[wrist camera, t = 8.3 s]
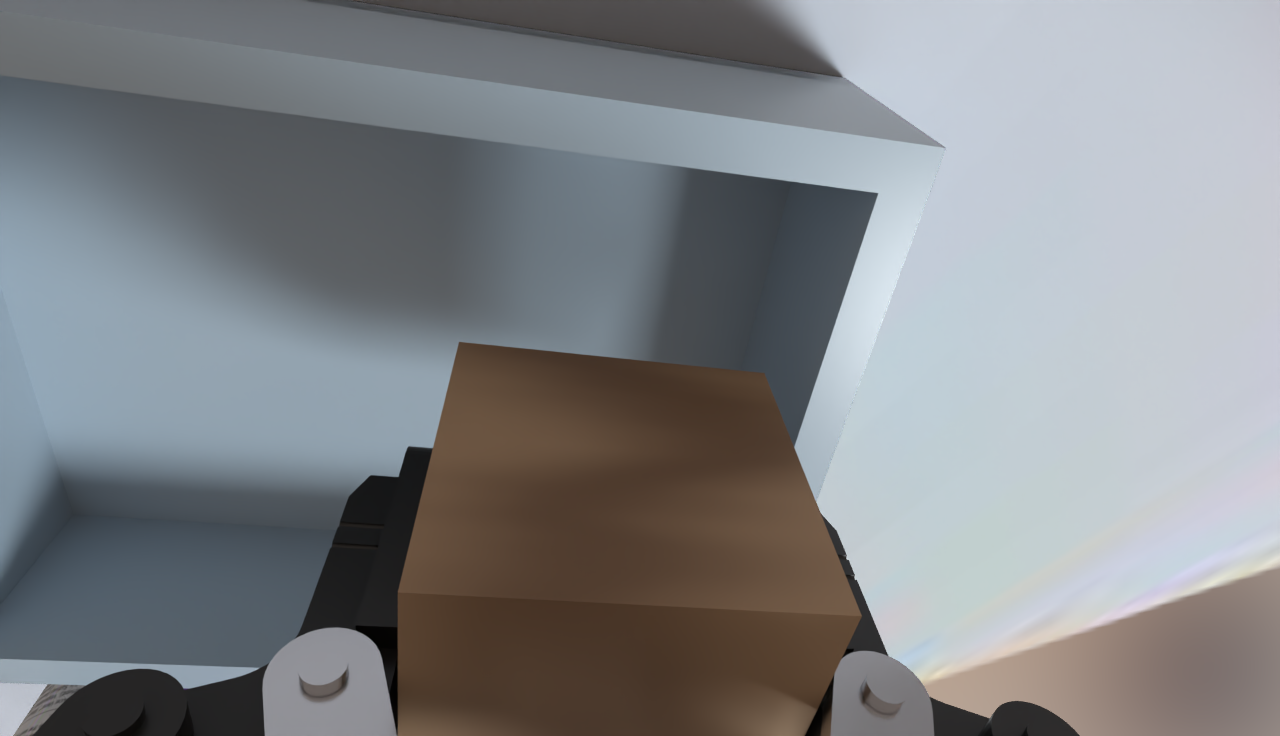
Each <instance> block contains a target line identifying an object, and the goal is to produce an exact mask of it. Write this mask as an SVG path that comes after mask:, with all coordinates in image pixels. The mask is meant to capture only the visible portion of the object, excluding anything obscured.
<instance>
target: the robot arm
mask: <svg viewBox="0 0 1280 736" xmlns="http://www.w3.org/2000/svg"><path fill="white" fill-rule="evenodd" d="M432 450H433V448H426V447H413V446H408V448H407V450H406V453H405V456H404V460H403V463H402V467H401V470H400V473H399V477H391V476H377V475H370V476H369V477H368V478H367V479H366V480H365V481H364V482H363V483H362V484H361V485H360V486H359V487H358V488H357V489H356V490H355V491H354V492H353V493H352V494H351V495H350V496H349V497H348V500H347V503H346V506H345V508H344V511H343V514H342V517H341V519H340V524H339V527H338V528H337V530H336V533H335V536H334V539H333V541H332V547H331V548H330V550H329V553H328V555H327V558H326V561H325V564H324V566H323V569H322V572H321V575H320V577H319V580H318V583H317V586H316V588H315V591H314V594H313V597H312V599H311V602H310V605H309V608H308V610H307V613H306V616H305V619H304V621H303V624H302V627H301V629H300V631H299V633H298V635H297V636H296V638H295V639H294V640H292V641H291V642H289V643H288V644H287V645H285V646H284V647H283V648H282V649H281V650H280V651H279V652H278V653H277V654H276V655H275V656H274V657H273V659H272V660H271V662H270V663H268V664H267V665H265V666H263V667H261V668H259V669H257V670H255V671H253V672H250V673H248V674H246V675H242V676H239V677H236V678H232V679H228V680H224V681H220V682H215V683H211V684H207V685H203V686H199V687H194V688H190V689H186V690H184V689H183V687H182V685H181V684H180V683H179V681H178V680H177V679H176V678H174V677H173V676H171V675H169V674H168V673H165V672H162V671H159V670H153V669H131V670H124V671H120V672H116V673H113V674H110V675H107V676H104V677H102V678H100V679H97V680H95V681H93V682H91V683H89V684H88V685H86V686H84V687H83V688H81V689H79V690H78V691H77V692H75V693H74V694H73V695H71V696H70V697H69V698H68V699H67V700H66V701H65V702H63V703H62V704H61V705H60V706H59V707H58V708H57V709H56V711H55V712H54V713H53V714H52V715H51V716H50V717H49V718H48V719H47V720H46V721H45V722H44V724H43V725H42V726H41V727H40V728H39V729H38V730H37V731H36V732H35V733H34V734H33V735H32V736H398V589H399V585H400V581H401V577H402V573H403V569H404V565H405V561H406V557H407V552H408V548H409V544H410V540H411V536H412V532H413V528H414V524H415V520H416V516H417V512H418V507H419V503H420V499H421V495H422V491H423V487H424V483H425V479H426V475H427V471H428V466H429V462H430V458H431V454H432ZM821 516H822V518H823V521H824V523H825V526H826V528H827V531H828V533H829V535H830V538H831V540H832V543H833V545H834V548H835V550H836V553H837V555H838V558H839V560H840V563H841V565H842V568H843V570H844V573H845V575H846V578H847V580H848V583H849V585H850V588H851V590H852V593H853V595H854V598H855V600H856V603H857V605H858V608H859V610H860V613H861V615H862V617H861V619H860V621H859V623H858V625H857V627H856V630H855V632H854V634H853V636H852V638H851V640H850V642H849V644H848V646H847V648H846V651H845V653H844V655H843V657H842V659H841V661H840V663H839V665H838V667H837V669H836V671H835V674H834V676H833V678H832V680H831V682H830V684H829V686H828V688H827V690H826V692H825V695H824V697H823V699H822V701H821V703H820V705H819V707H818V709H817V711H816V713H815V715H814V718H813V720H812V722H811V724H810V726H809V728H808V730H807V732H806V734H805V736H1079V734H1077V732H1076V731H1075V730H1074V729H1073V728H1072V727H1071V726H1070V725H1069V724H1067V723H1066V722H1065V721H1064V720H1062V719H1061V718H1060V717H1058V716H1057V715H1055V714H1054V713H1052V712H1050V711H1049V710H1047V709H1045V708H1042V707H1040V706H1038V705H1035V704H1032V703H1028V702H1022V701H1012V702H1007V703H1004V704H1002V705H1001V706H999V707H998V708H997V709H996V711H995V712H994V713H993V715H992V716H991V718H990V719H989V718H987V717H983V716H980V715H978V714H975V713H972V712H968V711H966V710H963V709H960V708H957V707H954V706H951V705H948V704H945V703H942V702H940V701H937V700H935V699H933V698H931V697H929V695H928V693H927V691H926V689H925V687H924V685H923V684H922V683H921V681H920V680H919V679H918V678H917V676H916V675H915V674H914V673H913V672H912V671H911V670H909V669H908V668H907V667H906V666H904V665H903V664H902V663H900V662H899V661H897V660H895V659H893V658H891V657H889V656H888V654H887V652H886V650H885V647H884V645H883V642H882V640H881V637H880V635H879V633H878V630H877V628H876V625H875V623H874V620H873V618H872V616H871V613H870V611H869V608H868V606H867V604H866V601H865V599H864V596H863V594H862V591H861V589H860V587H859V584H858V582H857V580H855V579H854V576H855V574H854V572H853V570H852V567H851V565H850V562H849V560H846V556H847V555H846V553H845V550H844V548H843V545H842V543H841V541H840V538H839V536H838V533H837V531H836V530H835V529H834V528H833V527H832V525H831V524H830V523H829V522H828V521H827V520H826V519H825V518H824V517H823V515H822V514H821Z"/></svg>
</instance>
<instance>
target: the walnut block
mask: <svg viewBox="0 0 1280 736" xmlns="http://www.w3.org/2000/svg"><path fill="white" fill-rule="evenodd" d="M861 617H862V615H861V613H860V610H859V608H858V605H857V603H856V600H855V598H854V595H853V593H852V590H851V588H850V585H849V583H848V580H847V578H846V575H845V573H844V570H843V568H842V565H841V563H840V560H839V558H838V555H837V553H836V550H835V548H834V545H833V543H832V540H831V538H830V535H829V533H828V531H827V528H826V526H825V523H824V521H823V518H822V516H821V513H820V511H819V508H818V506H817V503H816V501H815V498H814V496H813V493H812V491H811V488H810V486H809V483H808V481H807V478H806V476H805V473H804V471H803V468H802V466H801V463H800V461H799V458H798V456H797V453H796V451H795V448H794V446H793V443H792V441H791V438H790V436H789V433H788V431H787V428H786V426H785V423H784V421H783V418H782V416H781V413H780V411H779V408H778V406H777V403H776V401H775V398H774V396H773V393H772V391H771V388H770V386H769V383H768V381H767V378H766V376H765V373H759V372H750V371H740V370H730V369H720V368H711V367H701V366H691V365H681V364H672V363H662V362H652V361H642V360H632V359H623V358H613V357H603V356H593V355H584V354H574V353H564V352H554V351H544V350H535V349H525V348H515V347H505V346H496V345H486V344H476V343H466V342H459V344H458V348H457V352H456V356H455V360H454V364H453V368H452V372H451V376H450V381H449V385H448V389H447V393H446V397H445V401H444V405H443V409H442V413H441V417H440V421H439V426H438V430H437V434H436V438H435V442H434V446H433V450H432V454H431V458H430V462H429V466H428V471H427V475H426V479H425V483H424V487H423V491H422V495H421V499H420V503H419V507H418V512H417V516H416V520H415V524H414V528H413V532H412V536H411V540H410V544H409V548H408V552H407V557H406V561H405V565H404V569H403V573H402V577H401V581H400V585H399V589H398V736H805V734H806V732H807V730H808V728H809V726H810V724H811V722H812V720H813V718H814V715H815V713H816V711H817V709H818V707H819V705H820V703H821V701H822V699H823V697H824V695H825V692H826V690H827V688H828V686H829V684H830V682H831V680H832V678H833V676H834V674H835V671H836V669H837V667H838V665H839V663H840V661H841V659H842V657H843V655H844V653H845V651H846V648H847V646H848V644H849V642H850V640H851V638H852V636H853V634H854V632H855V630H856V627H857V625H858V623H859V621H860V619H861Z"/></svg>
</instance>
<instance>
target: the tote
mask: <svg viewBox="0 0 1280 736" xmlns="http://www.w3.org/2000/svg"><path fill="white" fill-rule="evenodd" d="M945 150H946V148H945V147H944V146H942V145H941V144H939V143H938V142H937V141H935V140H934V139H932V138H931V137H929V136H928V135H926V134H925V133H924V132H922V131H921V130H919V129H918V128H916V127H915V126H914V125H912V124H911V123H909V122H908V121H906V120H905V119H903V118H902V117H901V116H899V115H898V114H896V113H895V112H893V111H892V110H890V109H889V108H888V107H886V106H885V105H883V104H882V103H880V102H879V101H877V100H876V99H875V98H873V97H872V96H870V95H869V94H867V93H866V92H864V91H863V90H862V89H860V88H859V87H857V86H856V85H854V84H853V83H851V82H850V81H849V80H847V79H846V78H841V77H835V76H829V75H822V74H816V73H809V72H803V71H797V70H790V69H784V68H778V67H771V66H765V65H758V64H752V63H746V62H739V61H733V60H726V59H720V58H714V57H707V56H701V55H694V54H688V53H682V52H675V51H669V50H662V49H656V48H650V47H643V46H637V45H630V44H624V43H618V42H611V41H605V40H598V39H592V38H586V37H579V36H573V35H566V34H560V33H554V32H547V31H541V30H534V29H528V28H522V27H515V26H509V25H502V24H496V23H490V22H483V21H477V20H470V19H464V18H458V17H451V16H445V15H438V14H432V13H426V12H419V11H413V10H406V9H400V8H394V7H387V6H381V5H374V4H368V3H362V2H355V1H349V0H0V683H25V684H58V685H88V684H89V683H91V682H93V681H95V680H97V679H100V678H102V677H104V676H107V675H110V674H113V673H116V672H120V671H124V670H131V669H153V670H159V671H162V672H165V673H168V674H169V675H171V676H173V677H174V678H176V679H177V680H178V681H179V683H180V684H181V685H182V687H183V688H189V689H190V688H194V687H199V686H203V685H207V684H211V683H215V682H220V681H224V680H228V679H232V678H236V677H239V676H242V675H246V674H248V673H250V672H253V671H255V670H257V669H259V668H261V667H263V666H265V665H267V664H268V663H270V662H271V660H272V659H273V657H274V656H275V655H276V654H277V653H278V652H279V651H280V650H281V649H282V648H283V647H284V646H285V645H287V644H288V643H289V642H291V641H292V640H294V639H295V638H296V636H297V635H298V633H299V631H300V629H301V627H302V624H303V621H304V619H305V616H306V613H307V610H308V608H309V605H310V602H311V599H312V597H313V594H314V591H315V588H316V586H317V583H318V580H319V577H320V575H321V572H322V569H323V566H324V564H325V561H326V558H327V555H328V553H329V550H330V548H331V547H332V541H333V539H334V536H335V533H336V530H337V528H338V527H339V524H340V519H341V517H342V514H343V511H344V508H345V506H346V503H347V500H348V497H349V496H350V495H351V494H352V493H353V492H354V491H355V490H356V489H357V488H358V487H359V486H360V485H361V484H362V483H363V482H364V481H365V480H366V479H367V478H368V477H369V476H370V475H377V476H391V477H399V473H400V470H401V467H402V463H403V460H404V456H405V453H406V450H407V448H408V446H413V447H426V448H433V446H434V442H435V438H436V434H437V430H438V426H439V421H440V417H441V413H442V409H443V405H444V401H445V397H446V393H447V389H448V385H449V381H450V376H451V372H452V368H453V364H454V360H455V356H456V352H457V348H458V344H459V342H466V343H476V344H486V345H496V346H505V347H515V348H525V349H535V350H544V351H554V352H564V353H574V354H584V355H593V356H603V357H613V358H623V359H632V360H642V361H652V362H662V363H672V364H681V365H691V366H701V367H711V368H720V369H730V370H740V371H750V372H759V373H765V376H766V378H767V381H768V383H769V386H770V388H771V391H772V393H773V396H774V398H775V401H776V403H777V406H778V408H779V411H780V413H781V416H782V418H783V421H784V423H785V426H786V428H787V431H788V433H789V436H790V438H791V441H792V443H793V446H794V448H795V451H796V453H797V456H798V458H799V461H800V463H801V466H802V468H803V471H804V473H805V476H806V478H807V481H808V483H809V486H810V488H811V491H812V493H813V496H814V498H815V501H817V498H818V495H819V493H820V490H821V487H822V484H823V482H824V479H825V476H826V474H827V471H828V468H829V465H830V463H831V460H832V457H833V455H834V452H835V449H836V446H837V444H838V441H839V438H840V436H841V433H842V430H843V427H844V425H845V422H846V419H847V416H848V414H849V411H850V408H851V406H852V403H853V400H854V397H855V395H856V392H857V389H858V387H859V384H860V381H861V378H862V376H863V373H864V370H865V368H866V365H867V362H868V359H869V357H870V354H871V351H872V349H873V346H874V343H875V340H876V338H877V335H878V332H879V330H880V327H881V324H882V321H883V319H884V316H885V313H886V311H887V308H888V305H889V302H890V300H891V297H892V294H893V292H894V289H895V286H896V283H897V281H898V278H899V275H900V273H901V270H902V267H903V264H904V262H905V259H906V256H907V253H908V251H909V248H910V245H911V243H912V240H913V237H914V234H915V232H916V229H917V226H918V224H919V221H920V218H921V215H922V213H923V210H924V207H925V205H926V202H927V199H928V196H929V194H930V191H931V188H932V186H933V183H934V180H935V177H936V175H937V172H938V169H939V167H940V164H941V161H942V158H943V156H944V153H945Z"/></svg>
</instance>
